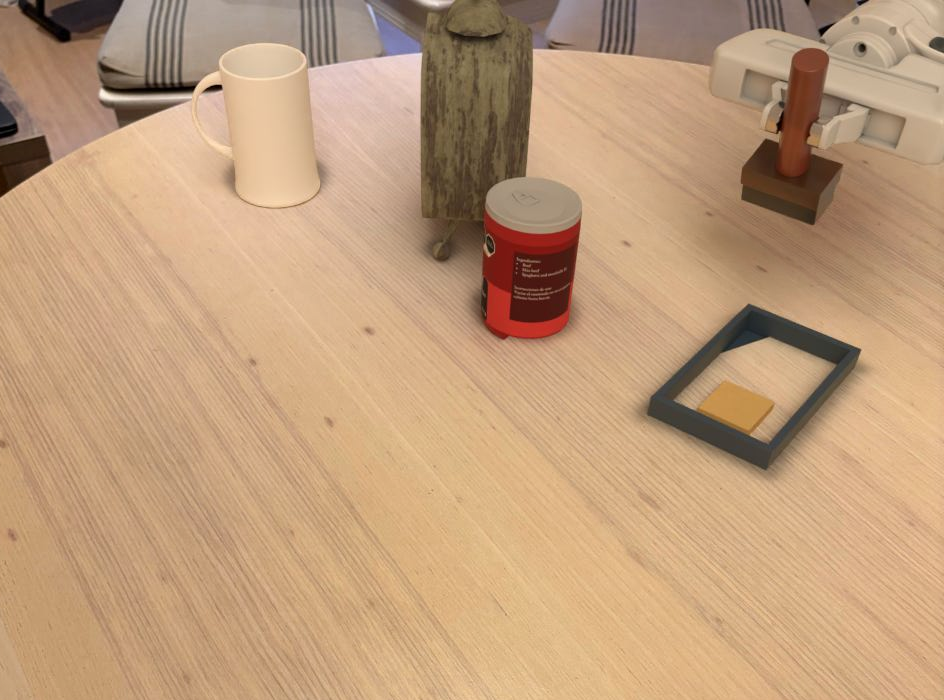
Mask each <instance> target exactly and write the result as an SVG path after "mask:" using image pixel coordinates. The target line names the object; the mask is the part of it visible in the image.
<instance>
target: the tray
mask: <svg viewBox="0 0 944 700" xmlns="http://www.w3.org/2000/svg"><path fill="white" fill-rule="evenodd" d="M767 338H772V339H774V340H776V341H779V342H781V343H783V344H786V345H788V346H791V347H793V348H796V349H798V350H800V351H803V352H805V353H808V354H809V355H812V356H814V357H817V358H820V359H822V360H824V361H827V362H829V363H831V364H834V365H836V366H835V367H834V369H833V370H832V371H830V373H828V375H827V376H826V377H825V379H823V381H822V382H821V383H820V384H819V386H818V387H817V388H816V389H815V390H814V391H813V392H812V393H811V394H810V396H809V397H808V398H807V399H806V400H805V401H804V402H803V403H802V405H801V406H800V407H799V408H798V409H797V410H796V411H795V412H794V414H793V415H792V416H791V417H790V418H789V419H788V420H787V422H786V423H785V424H784V425H783V426H782V427H781V429H779V431H777V433H775V435H774V436H773V438H772V439H771V440H770V441H769V442H768V443H766V442H764V441H762V440H760V439H758V438H756V437H753V436H751V435H747V434H745V433H743V432H740V431H738V430H736V429H734V428H732V427H730V426H727V425H725V424H723V423H721V422H719V421H717V420H714V419H712V418H710V417H708V416H706V415H703V414H701V413H699V412H697V410H695V409H693V408H690V407H688V406H686V405H684V404H682V403H679V402H677V401H675V399H676V398H677V397H678V396H679V395H680V394H681V393H682V392H683V391H684V390H685V389H686V388H687V387H688V386H689V385H690V384H691V383H692V382H693V381H695V380H696V378H697V377H698V376H699V375H700V374H702V373H703V372H704V370H705V369H706V368H707V367H709V366H710V364H711V363H713V362H714V361H715V360H716V359H717V358H718V357H719V356H720V355H721V354H724V353H726V352H730V351H732V350H736V349H738V348H741V347H744V346H747V345H750V344H753V343H755V342H759V341H763V340H764V339H767ZM861 352H862V349H861V348H859V347H858V346H855V345H852V344H850V343H847V342H845V341H842V340H841V339H840V340H839V339H837V338H835V337H832V336H830V335H828V334H825V333H822V332H821V331H818V330H816V329H812V328H810V327H808V326H806V325H803V324H800V323H798V322H795V321H793V320H790V319H788V318H786V317H784V316H780V315H778V314H776V313H773V312H771V311H768V310H766V309H764V308H761V307H759V306H756V305H754V304H752V303H747V304H746V305H745V306H744V307H743V308H741V310H740V311H739V312H738V313H737V314H735V316H734V317H733V318H732V319H731V320H729V321H728V322H727V323H726V324H725V325H724V326H723V327H722V328H721V329H720V330H719V331H718V332H717V333H716V334H715V335H714V336H713V337H712V338H711V339H710V340H709V341H707V342H706V344H704V345H703V346H702V347H701V348H700V349H699V350H698V351H697V352H696V353H695V354H694V355H693V356H692V357H691V358H689V360H688V361H687V362H686V363H685V364H684V365H683V366H681V368H680V369H678V370H677V372H675V373H674V374H673V375H672V376H671V377H670V378H669V379H668V380H667V381H666V382H665V383H664V384H663V385H662V386H661V387H659V389H657V391H655V392H654V393H653V394H652V395H651V397H650V400H649V405H648V410H647V414H646V415H647V416H649V417H651V418H653V419H655V420H658V421H660V422H662V423H664V424H666V425H668V426H671V427H673V428H674V429H676V430H679V431H681V432H683V433H685V434H687V435H690V436H692V437H694V438H696V439H698V440H700V441H703V442H704V443H707V444H708V445H711V446H713V447H715V448H717V449H719V450H721V451H723V452H726V453H728V454H730V455H732V456H734V457H736V458H739V459H741V460H742V461H744V462H746V463H749V464H751V465H753V466H755V467H758V468H760V469H762V470H764V471H767V470H768V469H769V468H770V466H771V465H772V464H773V463H774V462H775V461H776V460H777V459H778V457H779V456H780V455H781V454H782V453H783V452H784V450H785V449H786V448H787V447H788V446H789V445H790V443H791V442H793V440H794V439H795V438H796V436H797V435H798V434H799V433H800V432H801V430H803V428H804V427H805V426H806V425H807V423H808V422H809V421H810V420H811V419H812V418H813V417H814V416H815V414H816V413H817V412H818V411H819V410H820V409H821V408H822V407H823V405H824V404H825V403H826V402H827V400H828V399H829V398H830V397H831V396H832V395H833V393H834V392H835V391H836V390H837V389H838V387H840V385H841V384H842V383H843V381H844V380H845V379H847V377H848V376H849V375H850V374H851V372H852V371H853V370H854V369H855V368H856V365H857V362H858V360H859V357H860V355H861Z"/></svg>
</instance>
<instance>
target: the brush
mask: <svg viewBox="0 0 944 700" xmlns="http://www.w3.org/2000/svg"><path fill="white" fill-rule="evenodd" d="M828 65H829V56H828V54H827V53H826V52H825V51H823V50H821V49H818V48H805V49H802V50H800V51H798V52H796V53H795V54H794V56H793V57H792V60H791V67H790V73H789V80H788V86H787V93H786V99H785V106H784V112H783V119H782V125H781V131H779V139H778V141H775V140H772V139H769V138H766V137H765V139H764V140H763V141H762V142H761V143H760V144H759V146H758V147H757V148H756V150H755V151H754V152H753V153H752V154H751V156H750V157H749V158H748V160H747V161H746V162H745V163H744V164H743V166H742V167H741V172H740V173H741V174H740V185H742V188H741V196H740V200H741V201H743V202H747V203H748V204H749V203H750V204H752V205H755V206H757V207H760V208H763V209H765V210H768V211H771V212H774V213H777V214H779V215H782V216H785V217H788V218H790V219H793V220H796V221H799V222H802V223H804V224H807V225H809V226H811V227H814V226H815V225H816V224H817V222H818V221H819V220H820V218H821V217H822V216H823V214H824V213H825V212H826V210H827V209H828V208H829V206H830V205H831V204H832V202H833V201H834V196H835V192H836V187H837V185H838V184H839V183H840V181H841V176H842V171H843V168H844V164H843V163H840V162H839V161H834V160H832V159H829V158H826V157H823V156H820V155H816V154H814V153H813V149H814V147H812V146H810V145H807V144H806V143H807V138H808V137H809V136H810V132H809V131H810V128H811V126H812V123H813V122H814V121H815V120H817V119H818V117H819V113H820V107H821V102H822V97H823V91H824V86H825V81H826V76H827V70H828Z"/></svg>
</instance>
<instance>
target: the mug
mask: <svg viewBox="0 0 944 700" xmlns="http://www.w3.org/2000/svg"><path fill="white" fill-rule="evenodd" d="M218 69H219V70H217V71H214V72H211V73H209V74H207V75H206V76H205V77H203V78H202V79H201V80H200V81H199V82H198V83H197V85H196V86H195V88H194V90H193V92H192V95H191V101H190V113H191V114H190V115H191V118H192V122H193V126H194V127H195V129H196V132H197V133H198V135H199V136H200V138H201V139H202V140H203V142H204V143H205V144H206V145H207V147H209V148H210V149H211V150H213V151H214V152H216V153H217V154H219V155H220V156H222V157H225V158H228V159H229V160H233V165H234V175H235V181H234V189H235V191H236V194H237V195H238V197H240V198H241V199H242V200H243V201H244V202H247V203H248V204H251V205H253V206H256V207H257V206H258V207H263V208H269V209H270V208H273V209H281V208H289V207H294V206H298V205H301V204H304V203H306V202H308V201H310V199H312V198H314V197H315V196H316V195H317V194H318V192H319V191H320V189H321V178H320V175H319V172H318V167H317V166H318V165H317V156H316V147H315V145H316V144H315V136H314V135H315V134H314V124H313V114H312V113H313V112H312V103H311V93H310V92H311V91H310V81H309V70H308V60H307V56H306V55H305V54H304V53H303V52H302V51H301V50H300V49H297V48H296V47H294V46H293V47H292V46H290V45H286V44H281V43H272V42H259V43H258V42H257V43H249V44H245V45H240V46H237V47H234V48H232V49H230V50H228V51H226V52H225V53H223V54H222V55H221V56H220V58H219V60H218ZM216 85H219V86H221V87H222V88H221V89H222V93H223V100H224V107H225V114H226V120H227V127H228V133H229V139H230V140H229V141H230V145H224V144H222V143H220V142H218V141H217V140H214V139H213V138H212V137H211V136H210V135H209V134H208V133H207V132H206V130H205V129H204V128H203V126H202V124H201V122H200V119H199V117H198V112H197V111H198V110H197V107H198V100H199V98H200V96H201V94H202V93H203V92H204V91H205V90H207V88H210V87H211V86H216Z"/></svg>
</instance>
